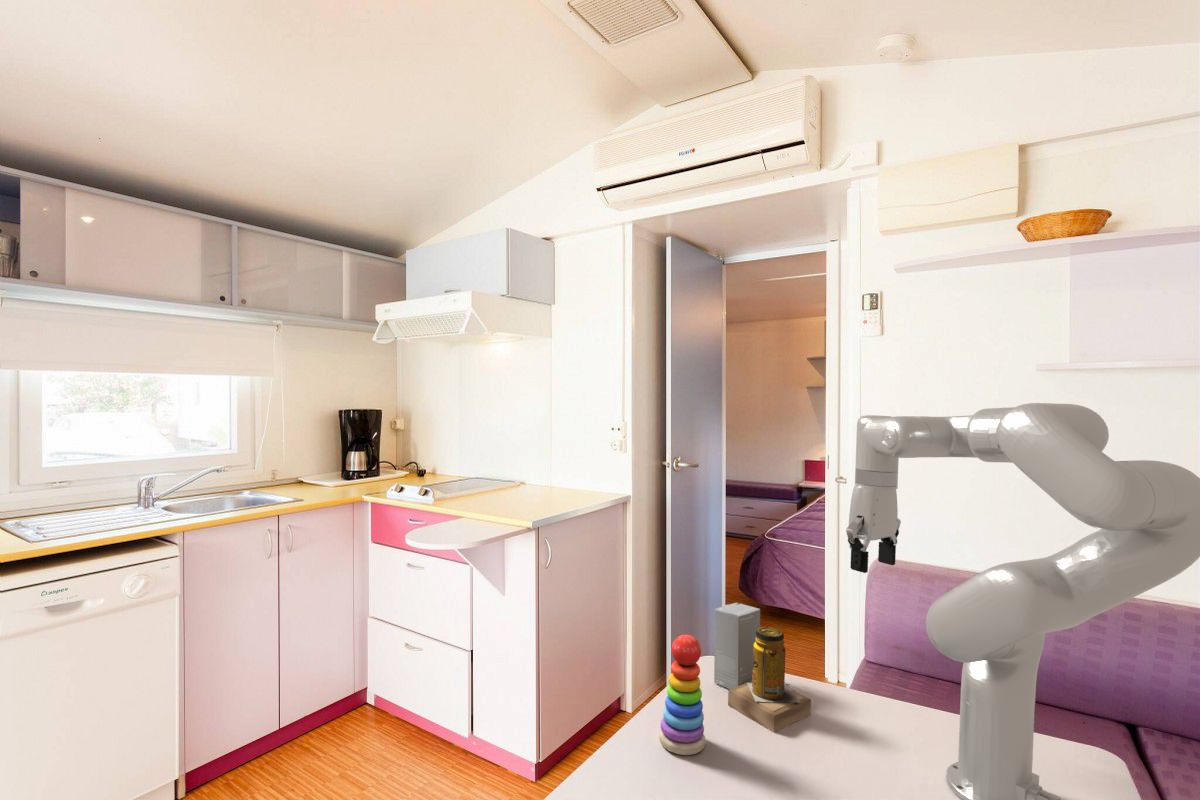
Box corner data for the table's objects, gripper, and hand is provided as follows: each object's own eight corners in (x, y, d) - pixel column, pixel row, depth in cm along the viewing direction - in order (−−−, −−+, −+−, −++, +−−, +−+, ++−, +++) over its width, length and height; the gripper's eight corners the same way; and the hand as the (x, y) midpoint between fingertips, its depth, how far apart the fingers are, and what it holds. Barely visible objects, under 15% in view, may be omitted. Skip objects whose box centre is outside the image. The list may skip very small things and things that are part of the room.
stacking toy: (704, 761, 98) (708, 648, 98) (656, 753, 100) (660, 643, 99) (705, 734, 106) (709, 630, 106) (661, 728, 107) (664, 625, 107)
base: (810, 714, 113) (811, 698, 113) (773, 732, 107) (774, 715, 107) (764, 690, 122) (765, 675, 122) (727, 705, 116) (728, 689, 116)
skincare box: (738, 695, 120) (741, 617, 120) (710, 682, 125) (712, 607, 125) (761, 682, 126) (764, 608, 125) (733, 670, 131) (735, 599, 131)
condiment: (746, 683, 118) (748, 624, 118) (789, 685, 118) (790, 625, 118) (755, 702, 111) (757, 639, 111) (800, 704, 111) (802, 640, 111)
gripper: (881, 474, 122) (878, 556, 123) (832, 479, 112) (829, 568, 113) (918, 479, 116) (915, 565, 117) (869, 485, 106) (866, 579, 107)
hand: (873, 567), depth 115 cm, fingers open, 9 cm apart
